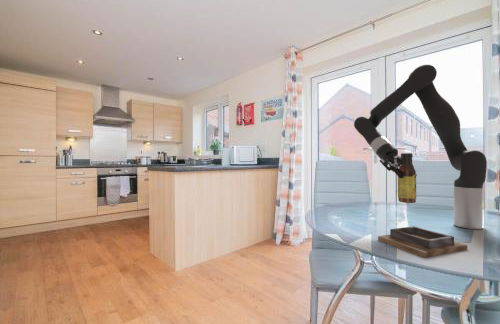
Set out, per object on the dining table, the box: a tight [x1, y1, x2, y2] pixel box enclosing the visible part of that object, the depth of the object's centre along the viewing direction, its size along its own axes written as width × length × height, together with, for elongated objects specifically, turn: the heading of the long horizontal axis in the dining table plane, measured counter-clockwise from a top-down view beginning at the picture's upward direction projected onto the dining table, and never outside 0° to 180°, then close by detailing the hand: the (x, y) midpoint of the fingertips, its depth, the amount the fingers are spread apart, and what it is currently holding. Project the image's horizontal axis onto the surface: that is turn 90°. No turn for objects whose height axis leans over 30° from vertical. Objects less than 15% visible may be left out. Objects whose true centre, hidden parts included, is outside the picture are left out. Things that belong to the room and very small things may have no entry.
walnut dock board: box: [377, 226, 468, 259], centre depth 80 cm, size 20×16×4 cm
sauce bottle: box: [397, 152, 417, 204], centre depth 95 cm, size 7×6×20 cm
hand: (408, 176), depth 95 cm, fingers closed on sauce bottle, 6 cm apart
